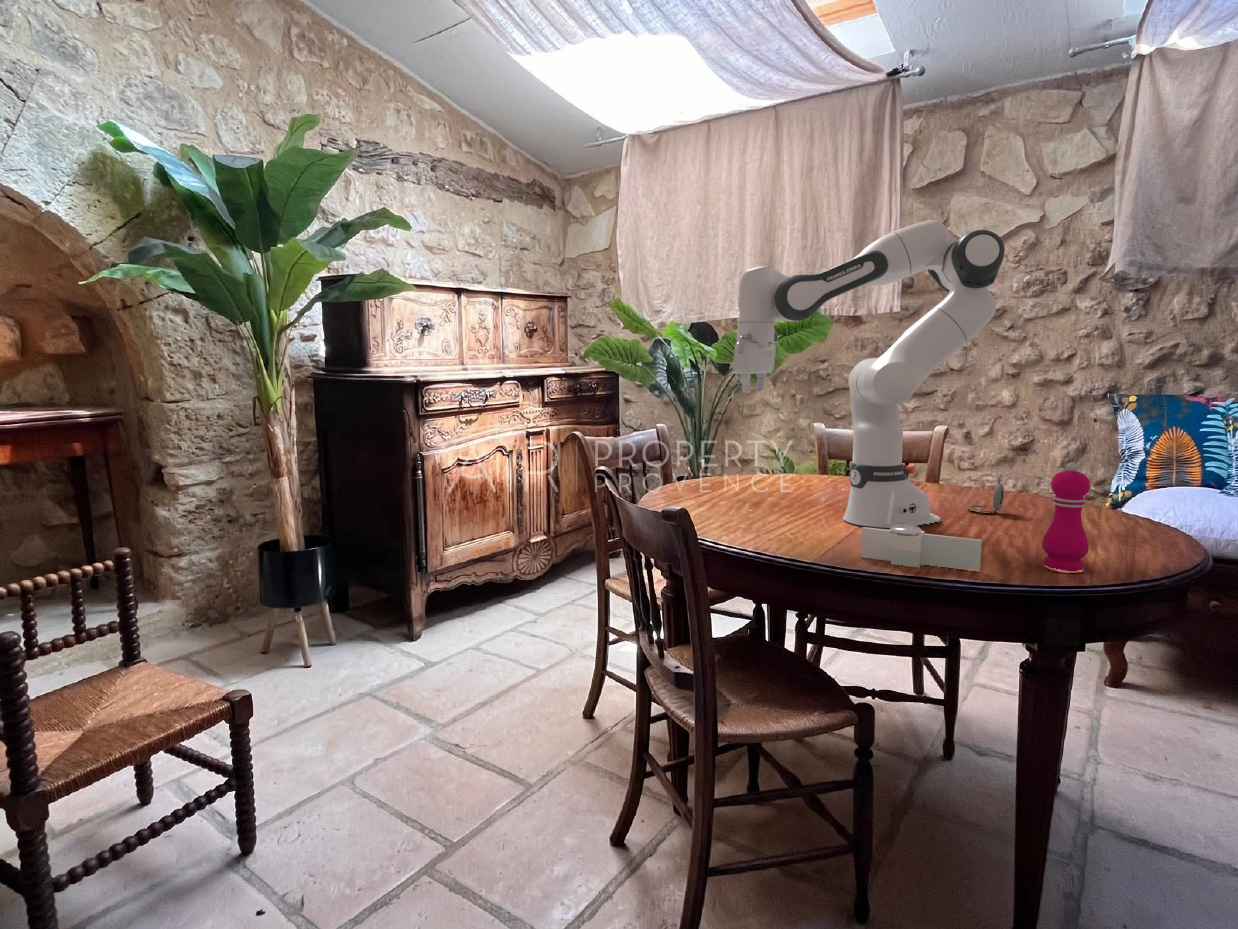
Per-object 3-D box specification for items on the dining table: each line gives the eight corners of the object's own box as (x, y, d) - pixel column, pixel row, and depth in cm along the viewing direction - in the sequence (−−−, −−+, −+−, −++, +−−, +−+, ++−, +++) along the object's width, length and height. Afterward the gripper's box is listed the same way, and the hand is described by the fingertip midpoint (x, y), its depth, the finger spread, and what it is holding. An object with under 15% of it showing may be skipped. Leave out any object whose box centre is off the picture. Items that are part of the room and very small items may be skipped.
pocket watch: (963, 509, 180) (965, 470, 179) (998, 509, 179) (1000, 471, 178) (975, 516, 172) (977, 476, 171) (1011, 516, 171) (1014, 476, 170)
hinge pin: (905, 555, 138) (907, 524, 137) (925, 562, 133) (927, 530, 132) (883, 557, 136) (884, 526, 135) (902, 565, 131) (904, 532, 130)
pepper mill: (1031, 564, 132) (1039, 460, 129) (1067, 562, 133) (1076, 459, 130) (1058, 575, 125) (1067, 466, 122) (1096, 574, 126) (1106, 464, 123)
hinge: (980, 568, 130) (982, 537, 129) (978, 575, 126) (980, 543, 125) (864, 553, 141) (865, 524, 140) (858, 560, 137) (859, 530, 136)
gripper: (753, 333, 159) (751, 394, 161) (780, 336, 177) (778, 391, 179) (727, 333, 162) (725, 393, 164) (756, 336, 180) (754, 390, 182)
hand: (753, 392), depth 172 cm, fingers open, 8 cm apart
